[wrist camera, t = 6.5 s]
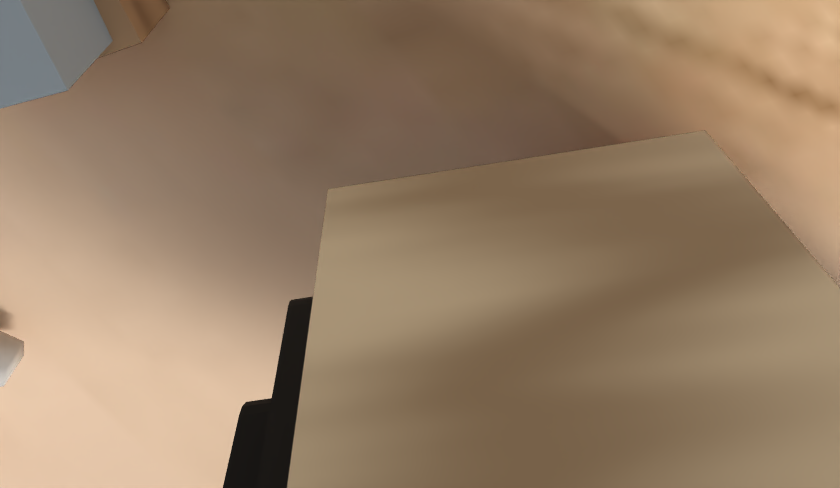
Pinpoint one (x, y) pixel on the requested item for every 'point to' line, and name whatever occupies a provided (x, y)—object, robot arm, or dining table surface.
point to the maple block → (569, 330)
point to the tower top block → (47, 46)
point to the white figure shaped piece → (9, 355)
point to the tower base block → (129, 20)
